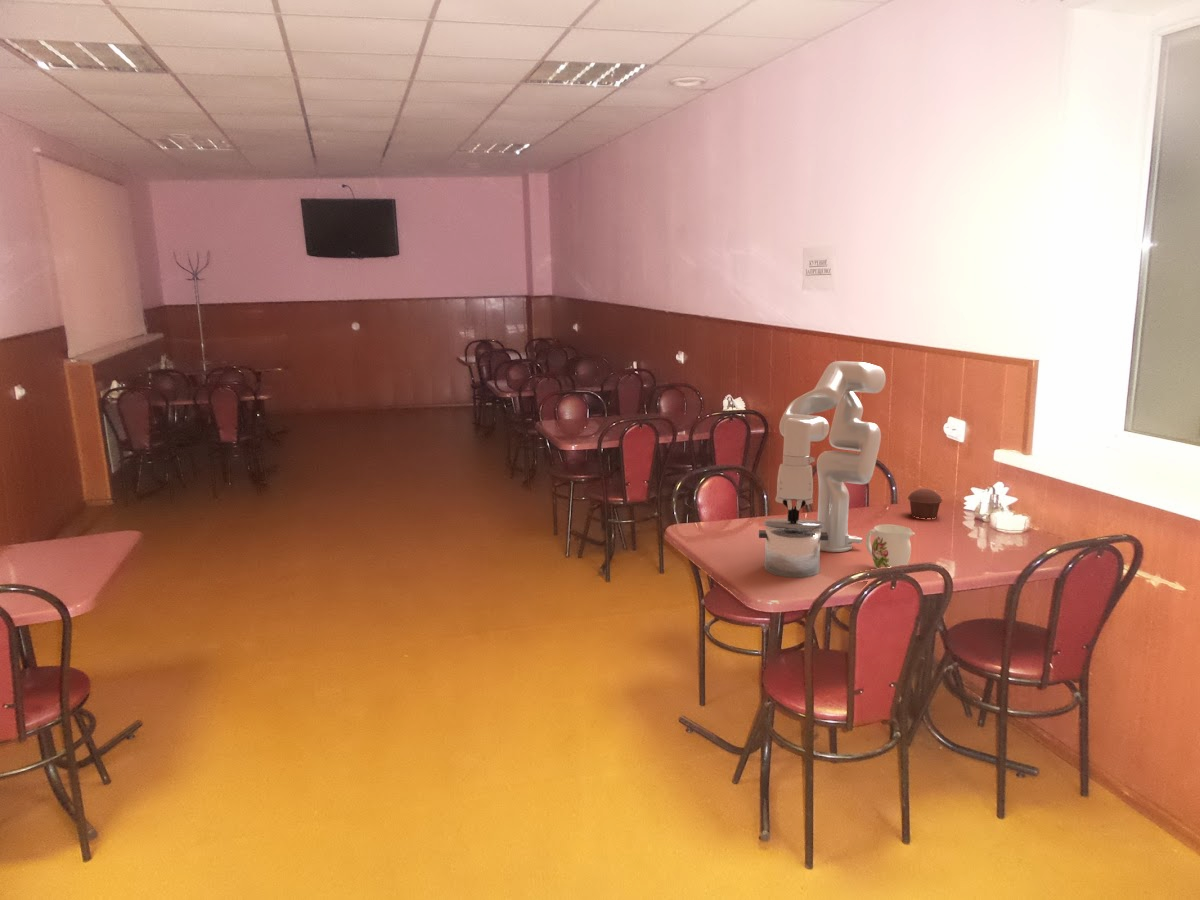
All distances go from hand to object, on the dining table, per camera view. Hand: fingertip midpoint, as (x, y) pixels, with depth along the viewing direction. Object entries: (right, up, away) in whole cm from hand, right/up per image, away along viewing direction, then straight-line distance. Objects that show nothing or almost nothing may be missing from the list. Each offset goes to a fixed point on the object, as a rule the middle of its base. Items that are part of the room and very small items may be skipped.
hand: (793, 522), depth 252 cm
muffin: (+62, -3, +63) cm, 88 cm away
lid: (+1, -1, +4) cm, 4 cm away
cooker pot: (+1, -15, +7) cm, 16 cm away
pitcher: (+29, -15, +4) cm, 33 cm away
